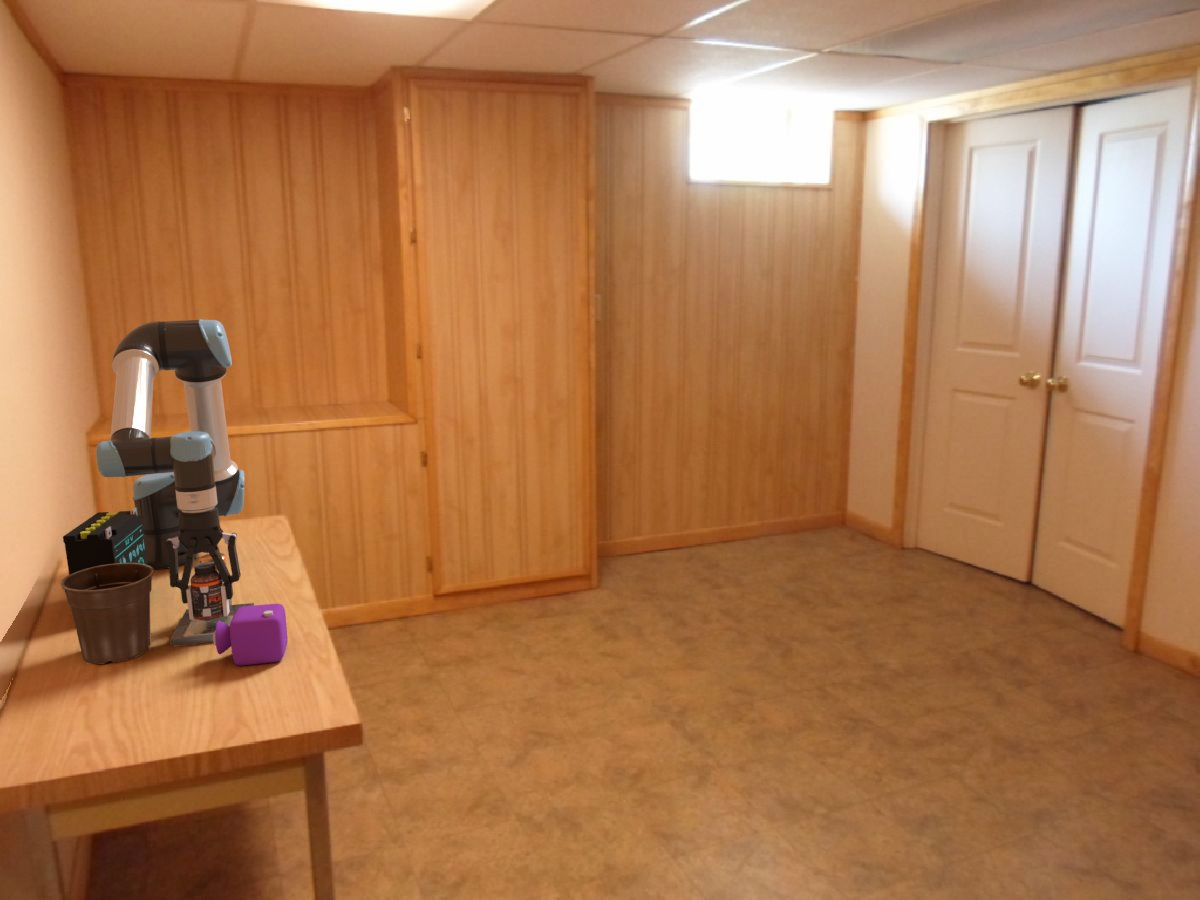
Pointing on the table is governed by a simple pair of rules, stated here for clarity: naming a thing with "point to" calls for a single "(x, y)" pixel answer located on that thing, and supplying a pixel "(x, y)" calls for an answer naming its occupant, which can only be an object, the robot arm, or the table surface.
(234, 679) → the table surface
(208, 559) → the plunger
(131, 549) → the battery
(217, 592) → the supplement bottle
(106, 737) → the table surface
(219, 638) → the toy camera
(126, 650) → the plant pot
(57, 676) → the table surface
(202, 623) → the base
